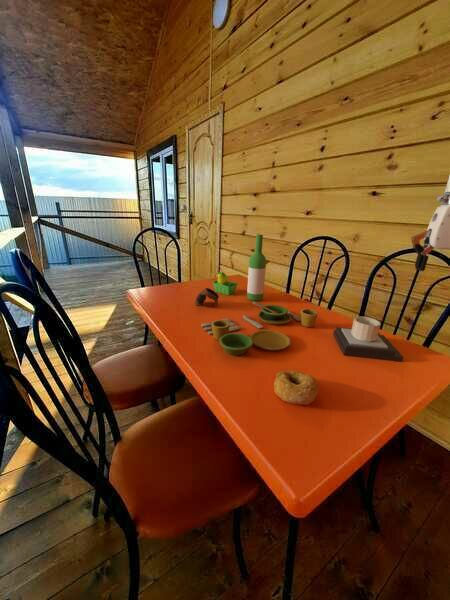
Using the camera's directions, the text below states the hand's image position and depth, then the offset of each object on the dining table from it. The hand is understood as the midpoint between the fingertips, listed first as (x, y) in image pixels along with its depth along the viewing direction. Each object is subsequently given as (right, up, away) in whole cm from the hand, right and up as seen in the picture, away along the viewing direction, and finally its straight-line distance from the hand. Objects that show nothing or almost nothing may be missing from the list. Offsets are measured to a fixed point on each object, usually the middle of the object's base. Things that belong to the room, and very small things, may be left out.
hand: (439, 271), depth 66 cm
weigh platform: (-13, -21, +14) cm, 28 cm away
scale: (-12, -22, +14) cm, 29 cm away
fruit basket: (-57, -4, +63) cm, 85 cm away
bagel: (-40, -29, -7) cm, 50 cm away
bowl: (-13, -19, +13) cm, 27 cm away
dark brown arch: (-65, -10, +45) cm, 80 cm away
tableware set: (-42, -19, +23) cm, 52 cm away
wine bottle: (-42, -7, +55) cm, 70 cm away
